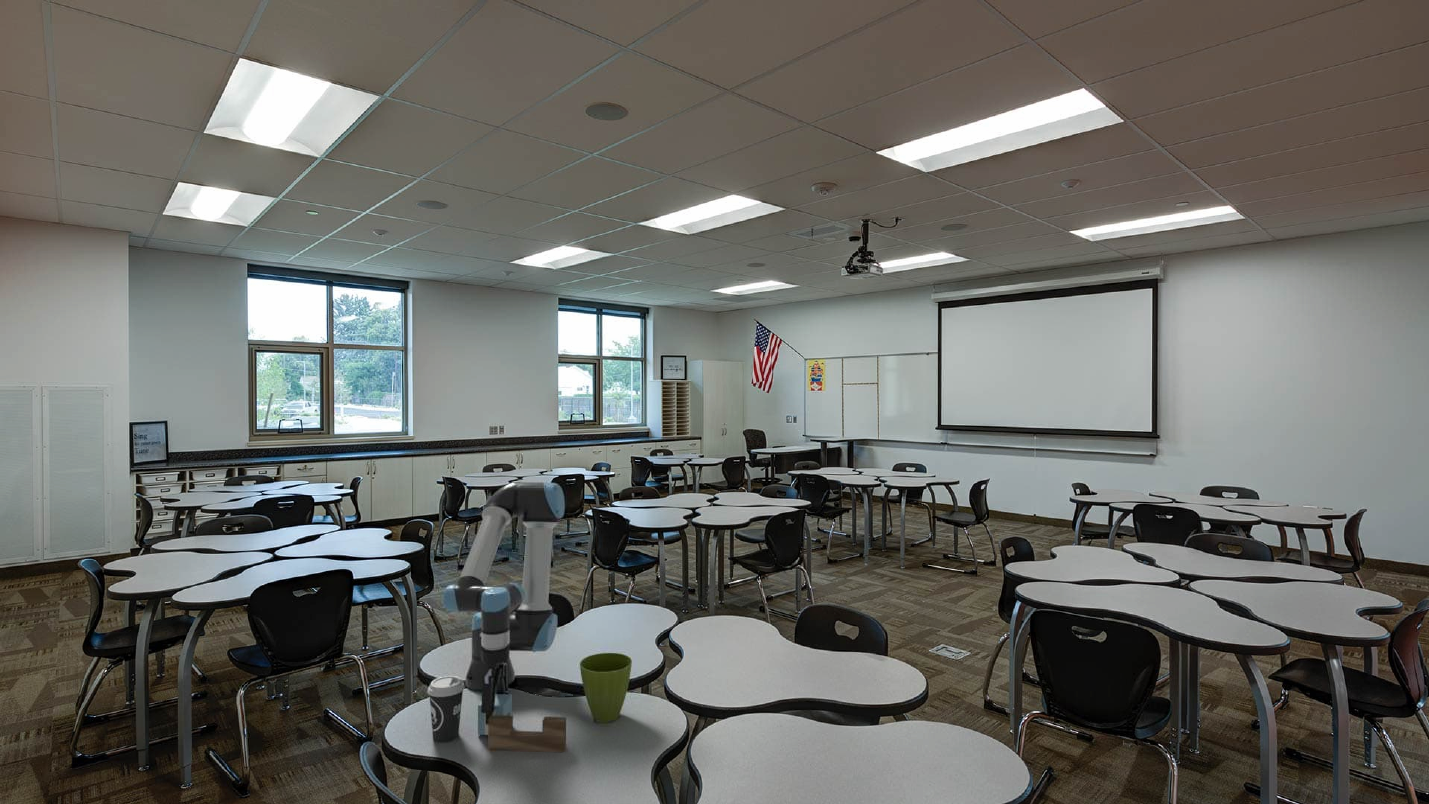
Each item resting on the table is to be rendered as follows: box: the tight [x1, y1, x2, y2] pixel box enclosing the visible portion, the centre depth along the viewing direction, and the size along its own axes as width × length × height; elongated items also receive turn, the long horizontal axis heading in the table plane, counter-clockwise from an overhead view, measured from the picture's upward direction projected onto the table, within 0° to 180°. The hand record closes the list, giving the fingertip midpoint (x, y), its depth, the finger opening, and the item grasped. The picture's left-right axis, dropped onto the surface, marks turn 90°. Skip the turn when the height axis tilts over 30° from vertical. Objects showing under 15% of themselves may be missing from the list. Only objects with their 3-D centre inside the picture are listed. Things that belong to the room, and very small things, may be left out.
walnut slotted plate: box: [487, 715, 567, 753], centre depth 180 cm, size 2×20×8 cm, turn 88°
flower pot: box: [579, 652, 633, 723], centre depth 198 cm, size 15×15×16 cm
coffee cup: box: [426, 675, 466, 743], centre depth 186 cm, size 10×10×15 cm
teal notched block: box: [477, 693, 513, 736], centre depth 190 cm, size 7×7×8 cm
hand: (495, 727), depth 190 cm, fingers closed on teal notched block, 7 cm apart
